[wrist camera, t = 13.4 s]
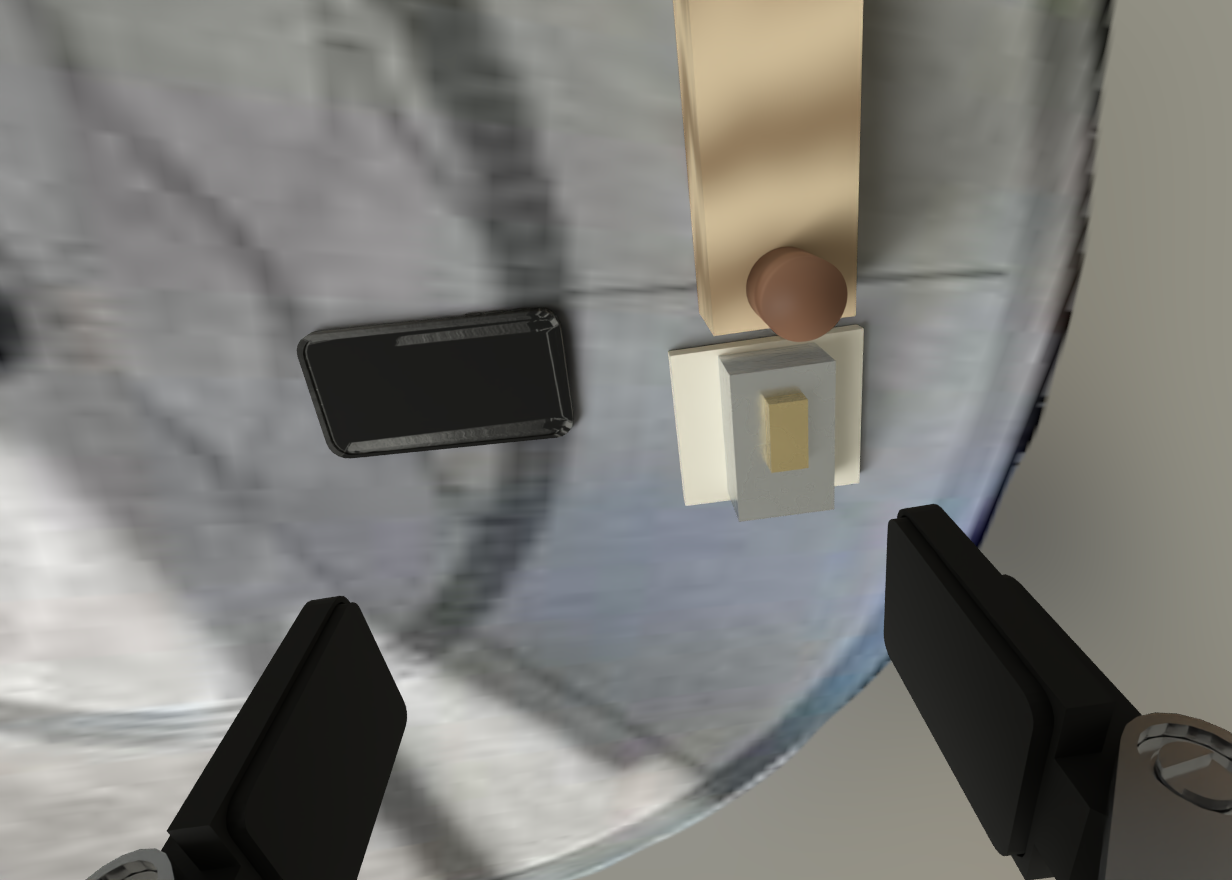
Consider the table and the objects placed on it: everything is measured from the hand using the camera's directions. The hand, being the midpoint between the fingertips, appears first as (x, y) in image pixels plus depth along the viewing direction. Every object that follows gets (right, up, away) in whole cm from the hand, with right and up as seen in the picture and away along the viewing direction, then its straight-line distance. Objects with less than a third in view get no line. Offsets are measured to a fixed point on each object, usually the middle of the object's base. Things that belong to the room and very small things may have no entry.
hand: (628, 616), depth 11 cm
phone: (-11, +7, +26) cm, 29 cm away
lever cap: (+9, +4, +26) cm, 28 cm away
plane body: (+7, +19, +20) cm, 29 cm away
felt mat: (+9, +5, +27) cm, 29 cm away
